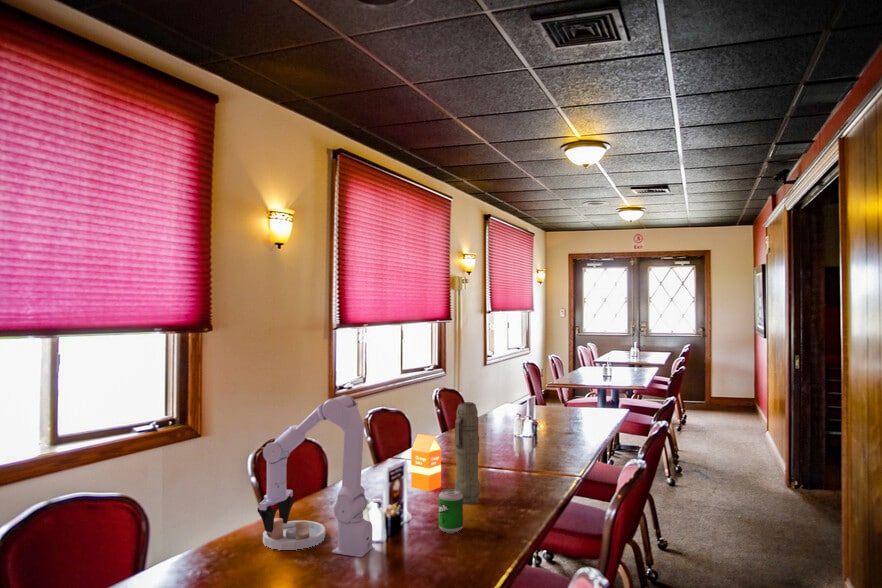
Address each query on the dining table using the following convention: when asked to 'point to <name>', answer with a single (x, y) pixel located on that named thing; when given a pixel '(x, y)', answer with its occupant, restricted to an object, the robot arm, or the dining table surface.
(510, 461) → the dining table surface
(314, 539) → the groove tray
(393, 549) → the dining table surface
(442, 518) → the soda can
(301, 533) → the maple bead
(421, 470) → the orange juice
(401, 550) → the dining table surface
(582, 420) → the dining table surface
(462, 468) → the thermos
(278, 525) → the ball
